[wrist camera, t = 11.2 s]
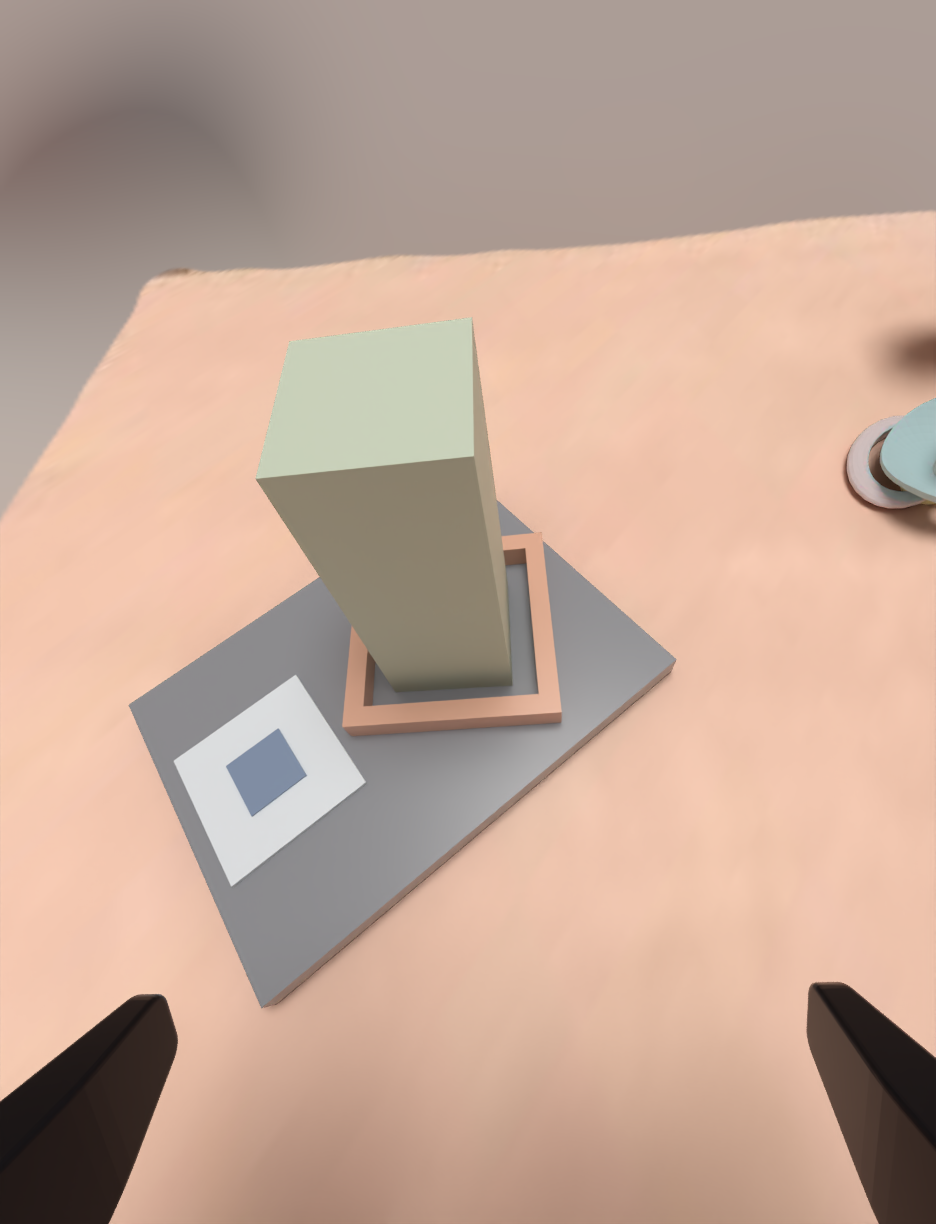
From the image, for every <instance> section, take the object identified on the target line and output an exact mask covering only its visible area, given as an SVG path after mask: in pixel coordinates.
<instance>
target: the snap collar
mask: <svg viewBox="0 0 936 1224" xmlns="http://www.w3.org/2000/svg"><path fill="white" fill-rule="evenodd" d="M501 537H502V544H503V552H504V559H505V565H514V564H525V563H527V574H528V585H529V596H530V607H531V618H532V629H533V640H534V650H535V661H536V672H537V683H538V694H531V695H517V696H503V697H489V698H475V699H461V700H446V701H432V702H418V703H404V704H390V705H376V706H372V704H373V689H374V674H375V660H374V659H373V657H372V656H371V654H370V653H369V651H368V650H367V648H366V647H365V645H364V643H363V642H362V640H361V639H360V637H359V636H358V634H357V633H356V631H355V630H354V628H353V627H352V626H351V637H350V648H349V658H348V669H347V680H346V691H345V701H344V712H343V723H342V727H343V728H344V729H345V730H346V731H347V732H348V733H349V734H350V735H351V736H364V735H380V734H395V733H410V732H425V731H441V730H456V729H471V728H486V727H502V726H517V725H532V724H547V723H561V721H562V710H561V701H560V692H559V683H558V674H557V665H556V656H555V647H554V638H553V629H552V621H551V612H550V603H549V594H548V585H547V576H546V567H545V558H544V549H543V540H542V532H539V533H529V534H519V535H509V536H501Z"/></svg>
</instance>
